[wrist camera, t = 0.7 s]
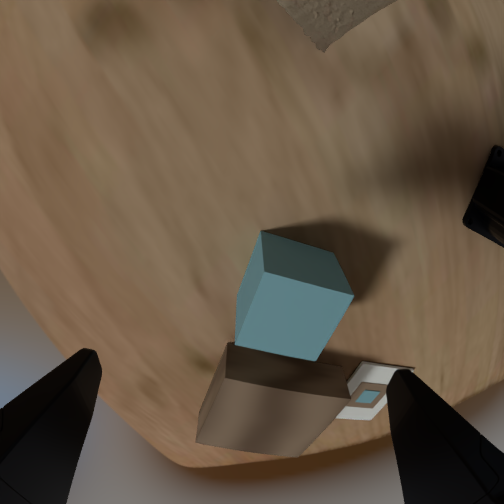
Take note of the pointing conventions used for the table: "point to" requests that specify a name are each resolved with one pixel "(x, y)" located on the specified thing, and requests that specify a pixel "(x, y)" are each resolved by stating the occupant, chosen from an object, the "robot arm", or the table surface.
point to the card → (368, 390)
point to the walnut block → (269, 402)
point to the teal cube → (290, 298)
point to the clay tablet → (330, 16)
